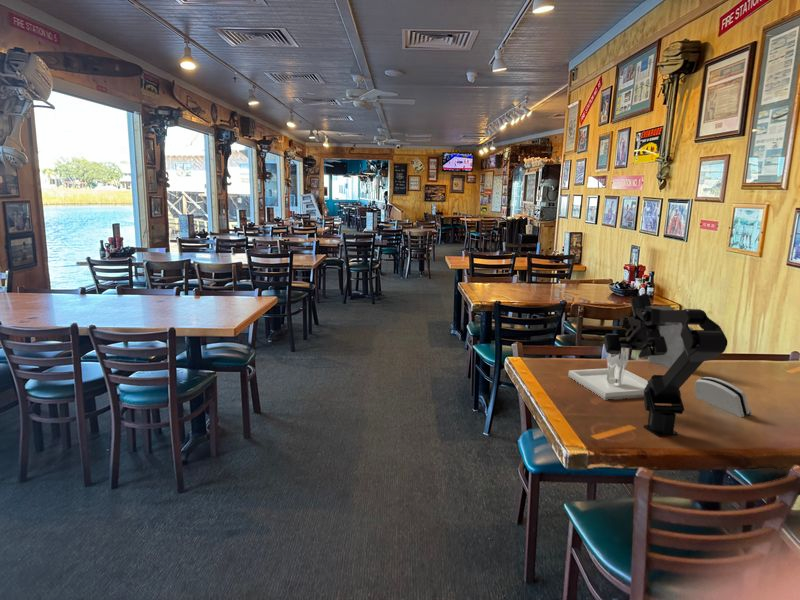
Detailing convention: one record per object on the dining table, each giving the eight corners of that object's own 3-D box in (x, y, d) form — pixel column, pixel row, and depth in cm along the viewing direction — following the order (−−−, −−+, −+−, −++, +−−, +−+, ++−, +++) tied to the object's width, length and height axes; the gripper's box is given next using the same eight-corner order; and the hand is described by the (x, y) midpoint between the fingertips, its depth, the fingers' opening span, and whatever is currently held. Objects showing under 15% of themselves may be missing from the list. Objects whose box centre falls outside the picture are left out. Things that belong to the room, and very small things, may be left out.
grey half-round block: (753, 415, 157) (750, 387, 154) (741, 422, 156) (738, 394, 153) (705, 395, 172) (702, 369, 169) (694, 401, 171) (691, 375, 168)
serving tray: (662, 395, 171) (663, 388, 170) (604, 400, 166) (605, 392, 165) (620, 373, 192) (621, 367, 191) (568, 377, 187) (568, 370, 186)
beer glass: (599, 381, 180) (603, 340, 177) (615, 379, 183) (619, 339, 180) (613, 388, 174) (618, 346, 171) (629, 386, 176) (634, 344, 173)
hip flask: (645, 361, 208) (652, 313, 204) (652, 359, 210) (658, 312, 206) (683, 373, 194) (690, 322, 190) (689, 371, 196) (697, 321, 192)
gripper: (668, 311, 160) (648, 336, 173) (608, 309, 161) (593, 334, 174) (677, 342, 154) (656, 365, 167) (615, 340, 155) (598, 363, 168)
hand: (625, 356), depth 169 cm, fingers open, 9 cm apart
